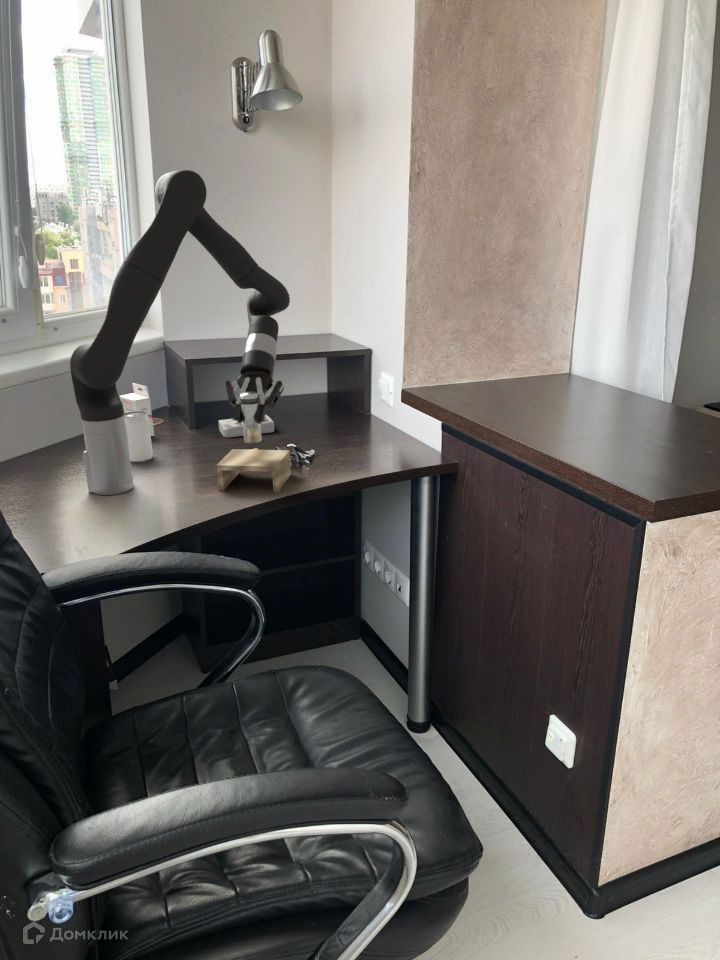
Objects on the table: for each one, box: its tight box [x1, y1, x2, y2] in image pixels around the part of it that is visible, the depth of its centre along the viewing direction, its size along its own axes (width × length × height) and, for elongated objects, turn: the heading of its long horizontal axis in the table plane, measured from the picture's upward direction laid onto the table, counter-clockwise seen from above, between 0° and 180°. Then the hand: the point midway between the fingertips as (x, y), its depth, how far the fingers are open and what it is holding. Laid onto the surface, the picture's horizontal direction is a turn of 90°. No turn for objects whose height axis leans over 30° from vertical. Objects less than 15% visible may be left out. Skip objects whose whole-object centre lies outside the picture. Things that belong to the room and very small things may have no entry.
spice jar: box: [240, 391, 263, 444], centre depth 171 cm, size 4×4×11 cm
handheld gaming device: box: [218, 414, 275, 438], centre depth 216 cm, size 9×14×4 cm, turn 109°
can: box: [124, 411, 154, 463], centre depth 193 cm, size 6×6×12 cm
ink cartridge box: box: [119, 382, 155, 437], centre depth 213 cm, size 9×5×15 cm, turn 47°
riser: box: [216, 448, 292, 493], centre depth 175 cm, size 14×12×6 cm
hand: (248, 421), depth 169 cm, fingers closed on spice jar, 4 cm apart
